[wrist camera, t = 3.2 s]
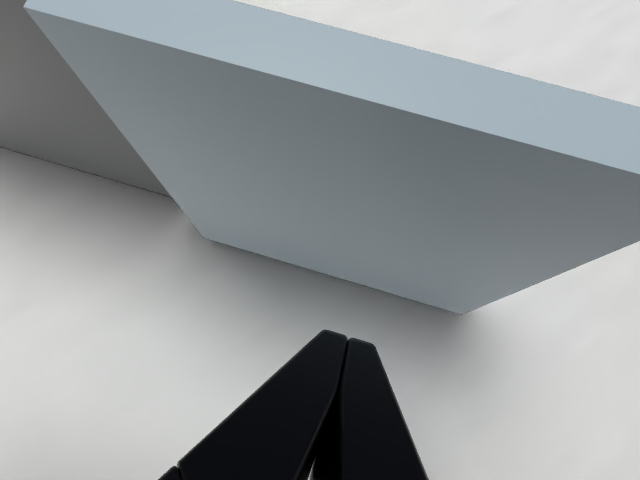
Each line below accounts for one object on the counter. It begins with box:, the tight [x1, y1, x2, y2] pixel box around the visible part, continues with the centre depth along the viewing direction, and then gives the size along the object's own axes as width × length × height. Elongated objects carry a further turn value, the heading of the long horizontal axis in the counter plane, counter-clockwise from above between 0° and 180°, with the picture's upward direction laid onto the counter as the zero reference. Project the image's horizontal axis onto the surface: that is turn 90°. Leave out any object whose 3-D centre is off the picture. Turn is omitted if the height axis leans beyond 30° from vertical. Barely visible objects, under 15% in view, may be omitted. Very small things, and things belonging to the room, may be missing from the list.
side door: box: [23, 0, 640, 314], centre depth 10 cm, size 1×9×9 cm, turn 73°
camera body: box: [0, 0, 171, 197], centre depth 11 cm, size 6×17×10 cm, turn 73°
